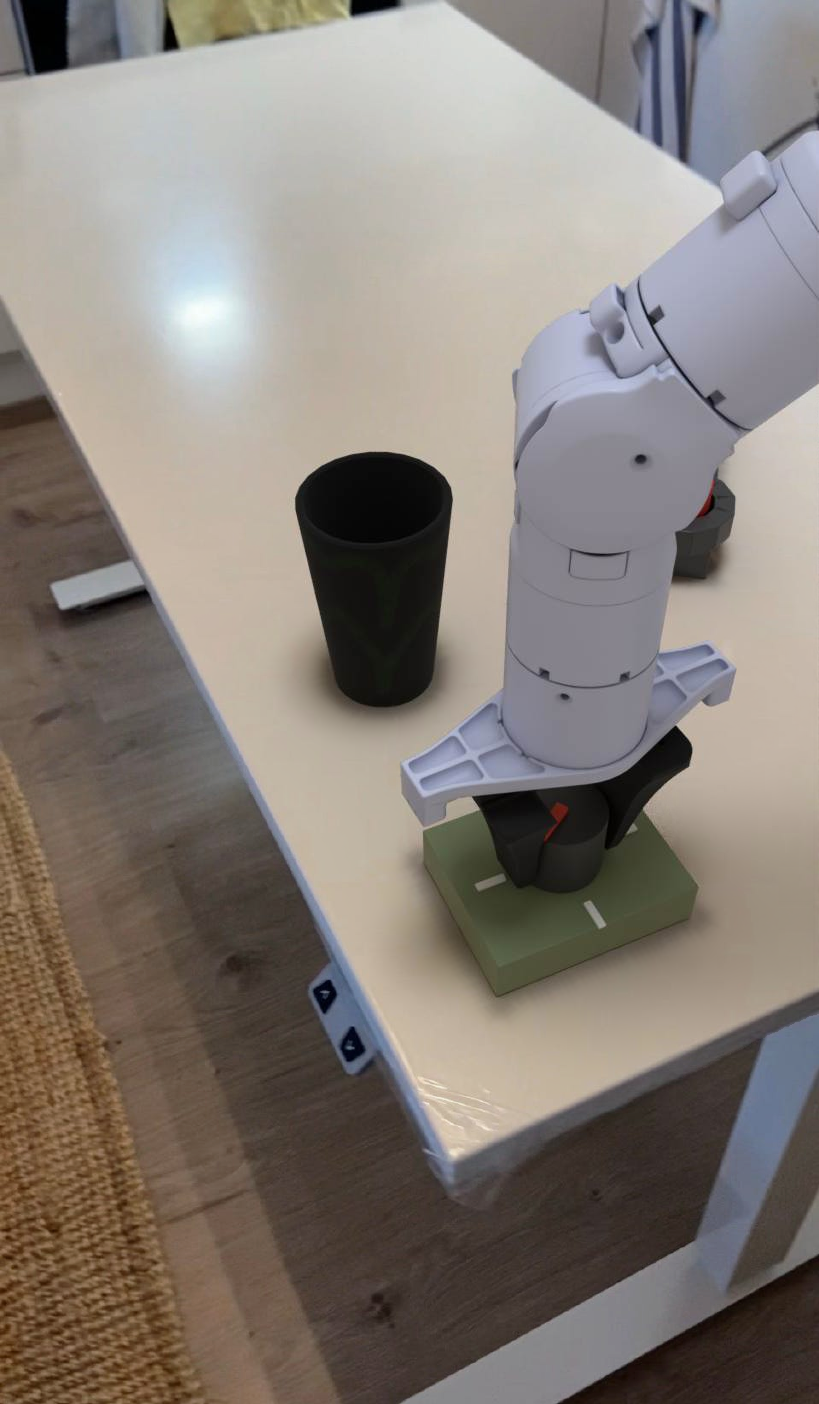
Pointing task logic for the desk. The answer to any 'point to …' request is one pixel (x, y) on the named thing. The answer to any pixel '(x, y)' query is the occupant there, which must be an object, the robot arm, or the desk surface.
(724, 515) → the power block
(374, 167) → the desk surface
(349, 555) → the cup
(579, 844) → the timer dial
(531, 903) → the panel
